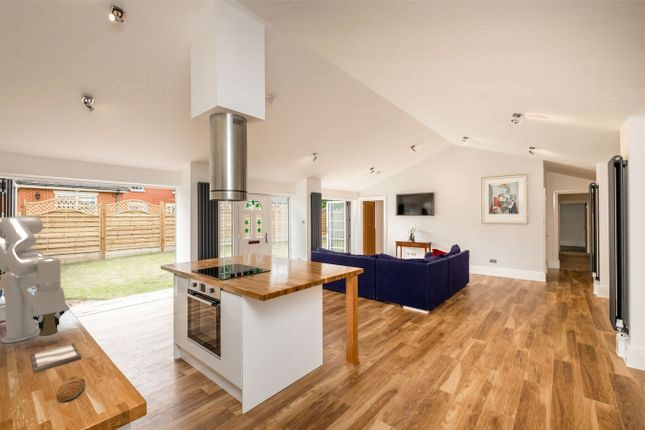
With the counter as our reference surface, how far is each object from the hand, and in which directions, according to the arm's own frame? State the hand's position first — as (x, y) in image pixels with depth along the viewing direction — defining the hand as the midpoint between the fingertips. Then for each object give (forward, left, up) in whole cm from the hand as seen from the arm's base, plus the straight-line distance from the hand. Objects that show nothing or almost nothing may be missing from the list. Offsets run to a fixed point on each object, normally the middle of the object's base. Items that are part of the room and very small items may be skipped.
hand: (49, 328), depth 128 cm
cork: (0, 0, -3) cm, 3 cm away
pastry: (+47, +25, -7) cm, 54 cm away
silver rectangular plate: (+17, +9, -7) cm, 20 cm away
